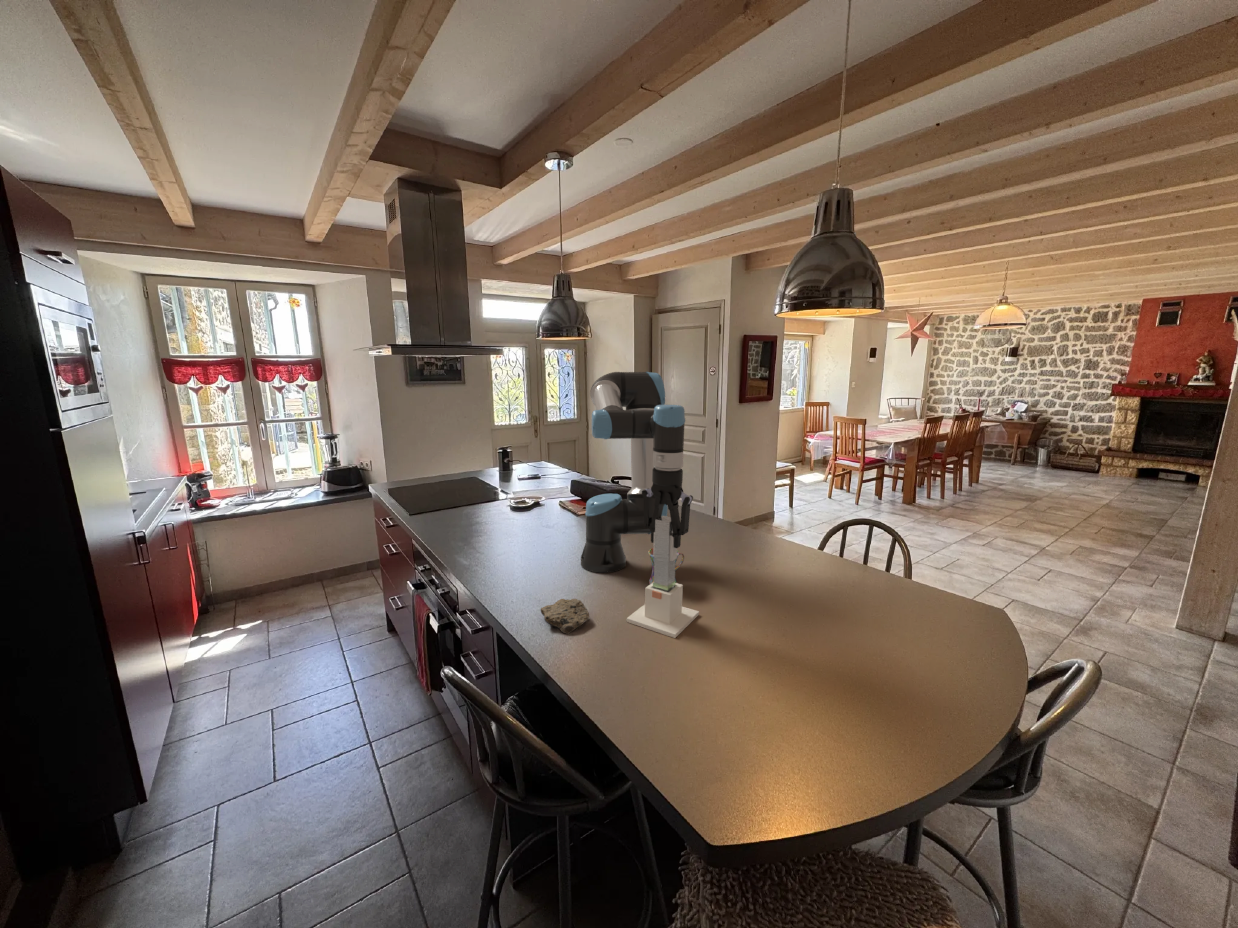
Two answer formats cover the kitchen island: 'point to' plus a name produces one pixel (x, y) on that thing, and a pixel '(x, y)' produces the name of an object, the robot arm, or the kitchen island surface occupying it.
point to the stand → (663, 612)
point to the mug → (653, 564)
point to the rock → (566, 614)
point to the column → (663, 556)
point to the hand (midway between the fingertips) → (665, 556)
